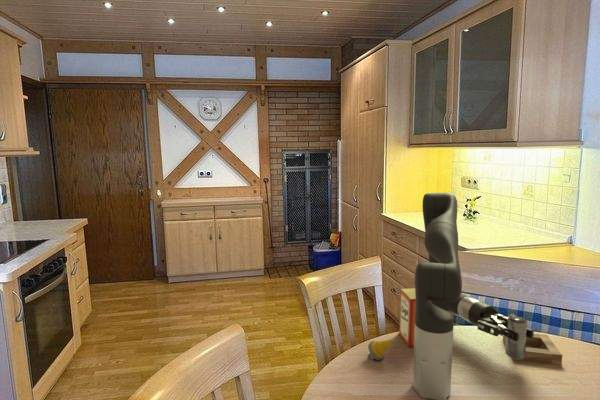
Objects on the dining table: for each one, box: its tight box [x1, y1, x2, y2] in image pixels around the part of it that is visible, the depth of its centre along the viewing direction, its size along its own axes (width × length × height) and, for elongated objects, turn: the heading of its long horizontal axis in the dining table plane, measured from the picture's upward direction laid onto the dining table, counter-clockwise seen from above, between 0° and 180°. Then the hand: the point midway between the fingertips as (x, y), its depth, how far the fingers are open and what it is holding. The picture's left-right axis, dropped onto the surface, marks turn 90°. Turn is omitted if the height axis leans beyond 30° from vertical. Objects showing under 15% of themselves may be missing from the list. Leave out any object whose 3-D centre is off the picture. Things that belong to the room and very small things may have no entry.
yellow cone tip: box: [367, 339, 393, 361], centre depth 114 cm, size 5×5×10 cm
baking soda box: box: [398, 287, 431, 349], centre depth 125 cm, size 10×6×16 cm
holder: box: [502, 333, 563, 366], centre depth 118 cm, size 12×12×3 cm
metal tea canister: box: [504, 315, 529, 359], centre depth 108 cm, size 5×5×10 cm
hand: (525, 336), depth 105 cm, fingers closed on metal tea canister, 4 cm apart
